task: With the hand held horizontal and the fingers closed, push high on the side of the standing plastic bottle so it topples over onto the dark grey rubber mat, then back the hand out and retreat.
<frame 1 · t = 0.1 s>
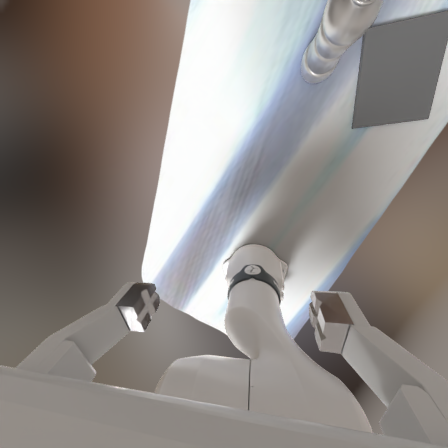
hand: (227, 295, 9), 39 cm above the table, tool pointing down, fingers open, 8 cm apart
mat: (395, 77, 34), on the table
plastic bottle: (314, 67, 35), on the table
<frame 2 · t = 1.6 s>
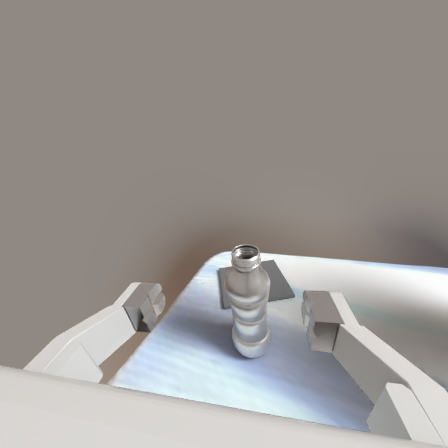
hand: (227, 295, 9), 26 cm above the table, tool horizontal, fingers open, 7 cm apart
mat: (252, 282, 45), on the table
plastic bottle: (251, 344, 32), on the table
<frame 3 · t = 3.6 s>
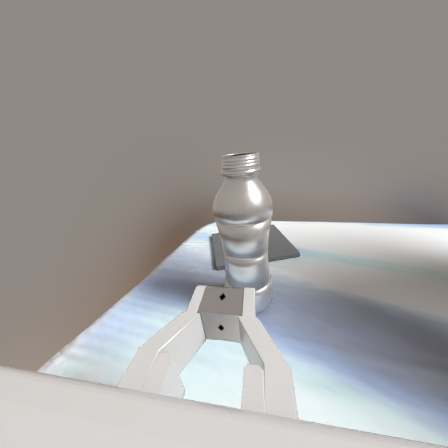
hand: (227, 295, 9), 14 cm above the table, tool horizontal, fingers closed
mat: (249, 245, 39), on the table
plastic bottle: (249, 302, 26), on the table
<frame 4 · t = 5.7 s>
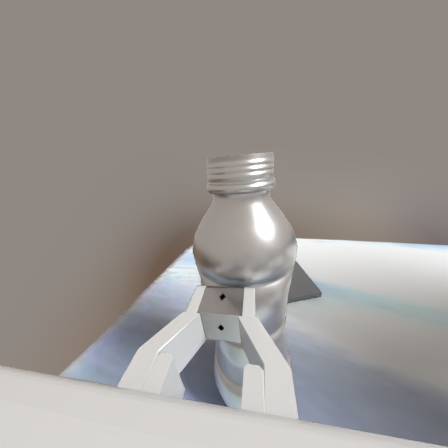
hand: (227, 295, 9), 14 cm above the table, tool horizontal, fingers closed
mat: (252, 274, 30), on the table
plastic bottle: (252, 386, 16), on the table
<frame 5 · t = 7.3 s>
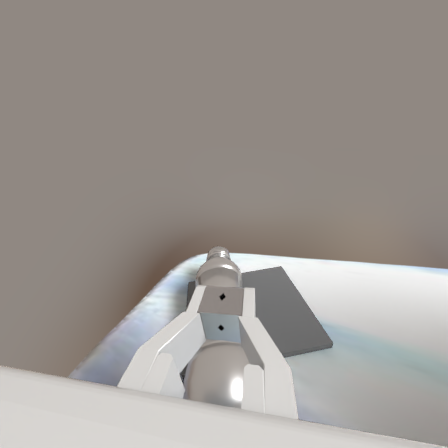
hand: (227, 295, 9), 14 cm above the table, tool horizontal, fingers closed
mat: (245, 310, 24), on the table
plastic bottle: (225, 446, 12), point 3 cm above the table, touching mat
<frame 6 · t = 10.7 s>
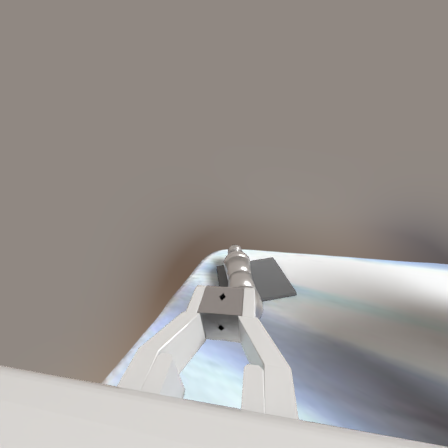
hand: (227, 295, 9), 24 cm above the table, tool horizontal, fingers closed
mat: (251, 280, 43), on the table
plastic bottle: (247, 319, 31), point 3 cm above the table, touching mat
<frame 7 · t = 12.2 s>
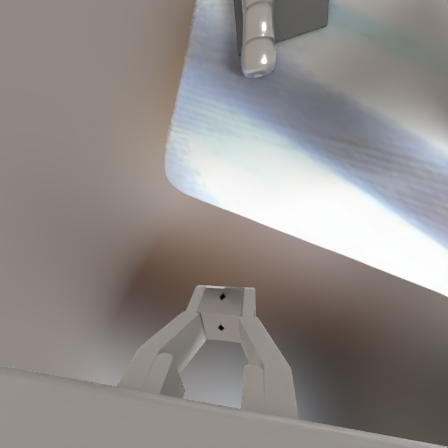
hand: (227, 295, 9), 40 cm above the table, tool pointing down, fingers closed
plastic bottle: (257, 78, 35), point 3 cm above the table, touching mat
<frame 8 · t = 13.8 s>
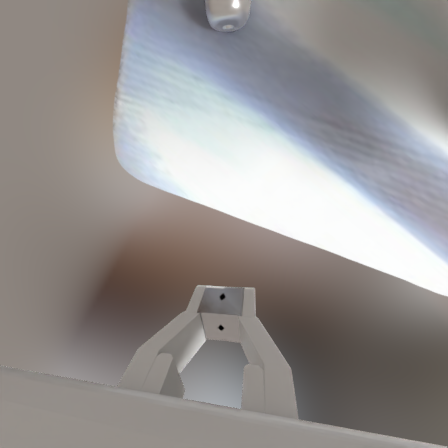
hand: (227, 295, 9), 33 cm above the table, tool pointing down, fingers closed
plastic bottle: (228, 31, 27), point 3 cm above the table, touching mat
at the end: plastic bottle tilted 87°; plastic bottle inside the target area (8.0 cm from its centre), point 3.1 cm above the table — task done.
